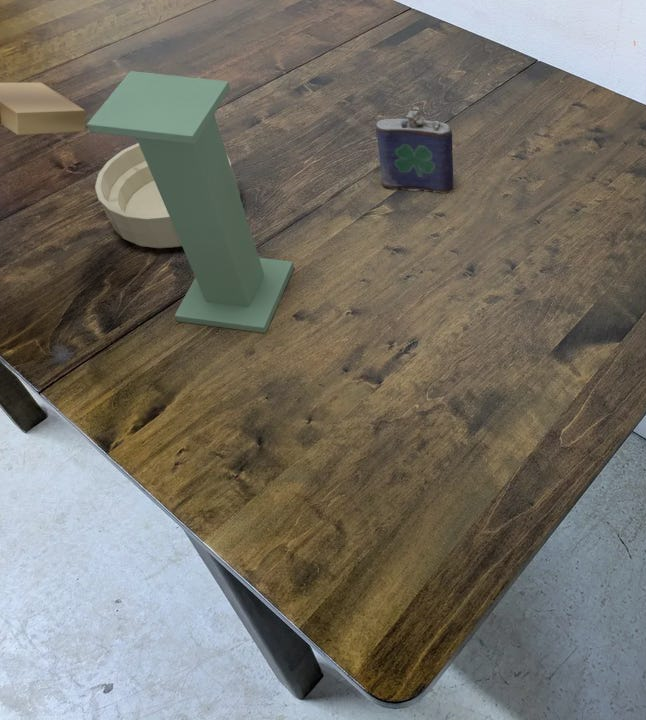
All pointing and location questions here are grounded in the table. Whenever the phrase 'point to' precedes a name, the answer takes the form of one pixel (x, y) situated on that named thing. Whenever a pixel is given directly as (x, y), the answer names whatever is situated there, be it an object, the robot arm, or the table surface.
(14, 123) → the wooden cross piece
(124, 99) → the pedestal stand
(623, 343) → the table surface
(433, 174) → the flask
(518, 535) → the table surface
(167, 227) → the bowl
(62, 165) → the table surface
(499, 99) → the table surface
